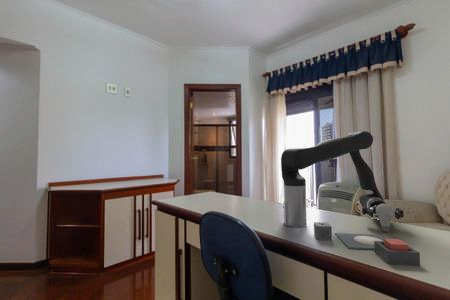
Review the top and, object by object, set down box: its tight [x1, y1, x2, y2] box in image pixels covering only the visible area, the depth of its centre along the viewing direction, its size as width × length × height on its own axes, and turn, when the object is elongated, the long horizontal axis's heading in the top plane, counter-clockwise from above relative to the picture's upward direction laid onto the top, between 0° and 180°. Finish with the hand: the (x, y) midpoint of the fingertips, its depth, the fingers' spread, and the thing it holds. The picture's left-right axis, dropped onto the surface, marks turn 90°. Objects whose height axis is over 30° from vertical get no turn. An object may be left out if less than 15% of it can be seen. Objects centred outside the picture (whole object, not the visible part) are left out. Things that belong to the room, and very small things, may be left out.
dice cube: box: [313, 221, 333, 242], centre depth 88 cm, size 5×5×5 cm
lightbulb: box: [376, 203, 395, 233], centre depth 93 cm, size 6×6×11 cm
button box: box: [374, 241, 421, 266], centre depth 70 cm, size 8×8×4 cm
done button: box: [384, 238, 409, 251], centre depth 70 cm, size 4×4×2 cm
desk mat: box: [334, 232, 393, 251], centre depth 83 cm, size 18×14×1 cm
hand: (385, 215), depth 93 cm, fingers open, 8 cm apart
